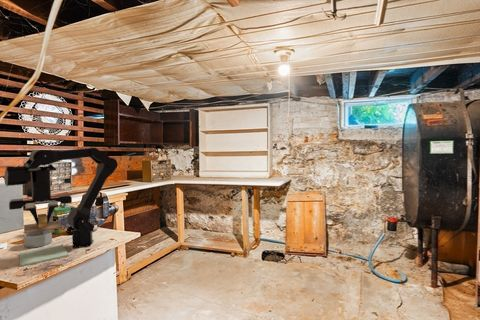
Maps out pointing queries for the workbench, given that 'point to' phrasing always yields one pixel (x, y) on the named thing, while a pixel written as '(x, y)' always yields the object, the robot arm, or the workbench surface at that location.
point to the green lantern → (60, 211)
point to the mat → (42, 255)
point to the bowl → (37, 239)
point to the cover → (42, 225)
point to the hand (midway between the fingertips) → (42, 223)
